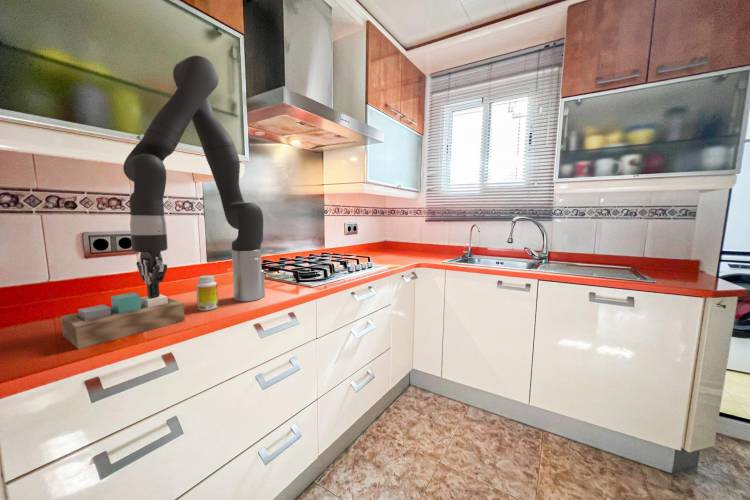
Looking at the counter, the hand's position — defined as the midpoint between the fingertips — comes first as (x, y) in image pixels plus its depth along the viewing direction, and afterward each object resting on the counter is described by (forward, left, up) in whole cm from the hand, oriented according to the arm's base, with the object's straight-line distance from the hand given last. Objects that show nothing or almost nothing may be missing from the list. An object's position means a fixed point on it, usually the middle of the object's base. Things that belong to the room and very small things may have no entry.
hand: (153, 297), depth 79 cm
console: (+6, 0, -7) cm, 9 cm away
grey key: (+12, 0, -4) cm, 13 cm away
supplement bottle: (-14, 0, -7) cm, 16 cm away
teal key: (+6, 0, -2) cm, 6 cm away
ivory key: (0, 0, -4) cm, 4 cm away
